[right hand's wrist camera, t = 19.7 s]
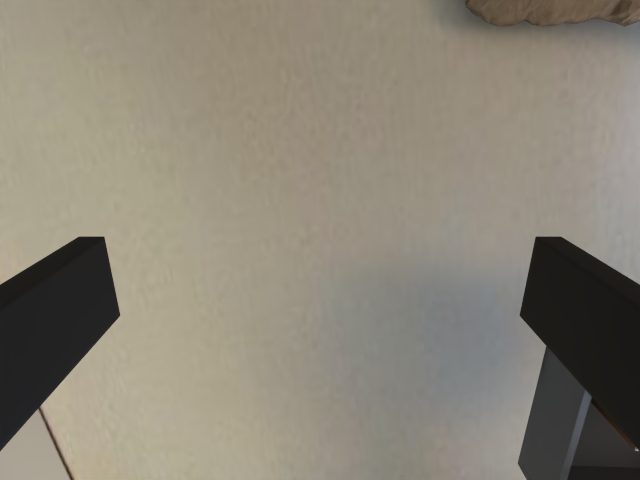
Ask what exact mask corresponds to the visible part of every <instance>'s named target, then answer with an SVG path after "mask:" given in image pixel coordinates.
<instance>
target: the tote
mask: <svg viewBox="0 0 640 480" xmlns="http://www.w3.org/2000/svg"><path fill="white" fill-rule="evenodd" d="M591 398H592V397H591V395H590V394H589V393H588V392H587V391H586V390H585V389H584V388H583V386H582V385H581V384H580V383H579V382H578V381H577V380H576V379H575V377H574V376H573V375H572V374H571V373H570V372H569V371H568V369H567V368H566V367H565V366H564V365H563V364H562V363H561V362H560V360H559V359H558V358H557V357H556V356H555V355H554V354H553V353H552V351H551V350H550V349H549V348H548V347H547V346H546V350H545V354H544V358H543V362H542V367H541V371H540V375H539V379H538V383H537V387H536V391H535V395H534V399H533V403H532V407H531V411H530V416H529V420H528V424H527V428H526V432H525V436H524V440H523V444H522V448H521V452H520V456H519V461H518V465H519V467H520V468H521V470H522V472H523V474H524V475H525V477H526V479H527V480H640V451H639V450H634V449H633V448H632V447H631V446H630V445H629V444H628V443H627V442H626V440H625V439H624V438H623V437H622V436H621V435H620V434H619V433H618V432H617V431H616V429H615V428H614V427H613V426H612V425H611V424H610V423H609V422H608V421H607V420H606V419H605V417H604V416H603V415H602V414H601V413H600V412H599V411H598V410H597V409H596V408H595V406H594V405H593V404H592V403H591V402H590V401H591Z"/></svg>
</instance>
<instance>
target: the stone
mask: <svg viewBox="0 0 640 480" xmlns="http://www.w3.org/2000/svg"><path fill="white" fill-rule="evenodd" d="M466 7H467V8H469V9H470V10H471V12H472V13H473V14H475V15H476V16H481V17H482V18H483V20H484V21H485V22H488V23H491V24H494V25H496V26H509V25H511V26H512V25H514V24H516V23H518V22H520V21H522V20H526V21H528V22H529V23H530V24H532V25H539V26H555V25H559V24H563V23H581V22H585V21H586V20H588V19H593V18H597V19H604V20H606V21H610V22H614V23H617V24H620V25H622V26H626V25H629V24H632V23H635V22H638V21H640V0H466Z"/></svg>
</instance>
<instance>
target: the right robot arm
mask: <svg viewBox="0 0 640 480" xmlns="http://www.w3.org/2000/svg"><path fill="white" fill-rule="evenodd" d="M119 316H120V312H119V307H118V302H117V297H116V292H115V287H114V282H113V278H112V273H111V268H110V263H109V258H108V253H107V248H106V243H105V238H104V237H78V238H76V239H74V240H73V241H71V242H70V243H68V244H66V245H65V246H63V247H61V248H60V249H58V250H56V251H55V252H53V253H52V254H50V255H48V256H47V257H45V258H43V259H42V260H40V261H38V262H37V263H35V264H34V265H32V266H30V267H29V268H27V269H25V270H24V271H22V272H20V273H19V274H17V275H16V276H14V277H12V278H11V279H9V280H7V281H6V282H4V283H2V284H1V285H0V451H1V450H2V449H3V447H4V446H5V445H6V444H7V443H8V442H9V441H10V440H11V438H12V437H13V436H14V435H15V434H16V433H17V432H18V431H19V429H20V428H21V427H22V426H23V425H24V424H25V423H26V421H27V420H28V419H29V418H30V417H31V416H32V415H33V413H34V412H35V411H36V410H37V409H38V408H39V407H40V406H41V405H42V403H43V402H44V401H45V400H46V399H47V398H48V397H49V395H50V394H51V393H52V392H53V391H54V390H55V389H56V388H57V386H58V385H59V384H60V383H61V382H62V381H63V380H64V379H65V377H66V376H67V375H68V374H69V373H70V372H71V371H72V369H73V368H74V367H75V366H76V365H77V364H78V363H79V362H80V360H81V359H82V358H83V357H84V356H85V355H86V354H87V353H88V351H89V350H90V349H91V348H92V347H93V346H94V345H95V343H96V342H97V341H98V340H99V339H100V338H101V337H102V336H103V334H104V333H105V332H106V331H107V330H108V329H109V328H110V327H111V325H112V324H113V323H114V322H115V321H116V320H117V319H118V317H119ZM520 316H521V317H522V319H523V320H524V321H525V322H526V323H527V324H528V325H529V327H530V328H531V329H532V330H533V331H534V332H535V333H536V334H537V336H538V337H539V338H540V339H541V340H542V341H543V342H544V343H545V345H546V346H547V347H548V348H549V349H550V350H551V351H552V353H553V354H554V355H555V356H556V357H557V358H558V359H559V360H560V362H561V363H562V364H563V365H564V366H565V367H566V368H567V369H568V371H569V372H570V373H571V374H572V375H573V376H574V377H575V379H576V380H577V381H578V382H579V383H580V384H581V385H582V386H583V388H584V389H585V390H586V391H587V392H588V393H589V394H590V395H591V397H592V398H593V399H594V400H595V401H596V402H597V403H598V405H599V406H600V407H601V408H602V409H603V410H604V411H605V412H606V414H607V415H608V416H609V417H610V418H611V419H612V420H613V421H614V423H615V424H616V425H617V426H618V427H619V428H620V429H621V431H622V432H623V433H624V434H625V435H626V436H627V437H628V438H629V440H630V441H631V442H632V443H633V444H634V445H635V446H636V448H637V449H638V450H639V451H640V285H639V284H638V283H636V282H634V281H633V280H631V279H629V278H628V277H626V276H624V275H623V274H621V273H620V272H618V271H616V270H615V269H613V268H611V267H610V266H608V265H606V264H605V263H603V262H602V261H600V260H598V259H597V258H595V257H593V256H592V255H590V254H588V253H587V252H585V251H584V250H582V249H580V248H579V247H577V246H575V245H574V244H572V243H570V242H569V241H567V240H566V239H564V238H562V237H536V238H535V243H534V248H533V253H532V258H531V263H530V268H529V273H528V278H527V282H526V287H525V292H524V297H523V302H522V307H521V312H520Z"/></svg>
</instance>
